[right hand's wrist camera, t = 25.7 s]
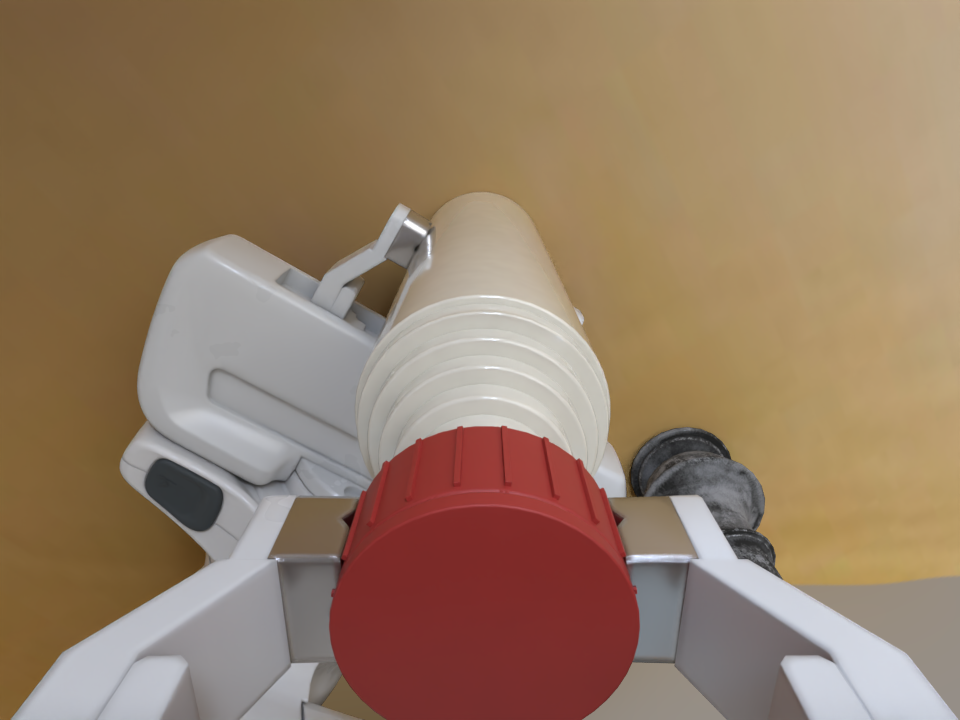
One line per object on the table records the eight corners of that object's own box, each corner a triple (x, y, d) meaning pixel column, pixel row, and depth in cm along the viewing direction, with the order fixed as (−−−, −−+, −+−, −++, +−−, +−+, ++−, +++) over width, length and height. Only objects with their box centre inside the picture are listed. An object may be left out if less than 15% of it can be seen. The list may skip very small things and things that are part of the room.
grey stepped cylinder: (753, 490, 34) (884, 675, 23) (651, 535, 35) (731, 732, 24) (712, 403, 33) (834, 557, 21) (606, 452, 34) (669, 625, 22)
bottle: (514, 326, 31) (585, 781, 10) (405, 286, 31) (238, 686, 9) (559, 218, 29) (764, 500, 8) (445, 172, 29) (348, 354, 8)
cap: (409, 661, 11) (394, 777, 9) (312, 466, 10) (271, 555, 8) (639, 601, 11) (675, 710, 9) (572, 387, 9) (597, 461, 7)
